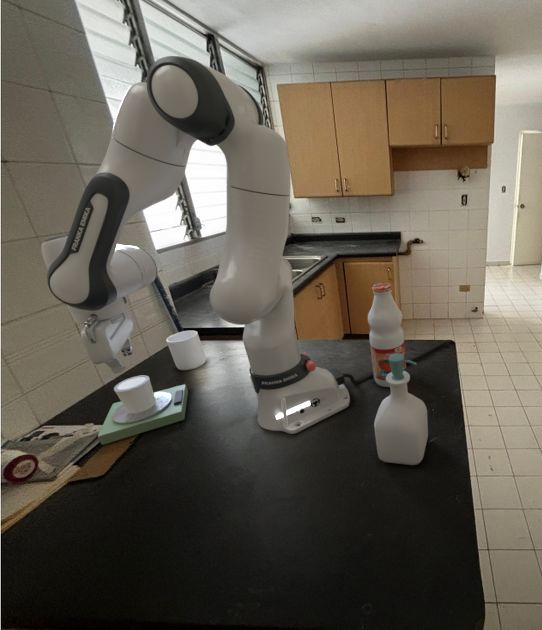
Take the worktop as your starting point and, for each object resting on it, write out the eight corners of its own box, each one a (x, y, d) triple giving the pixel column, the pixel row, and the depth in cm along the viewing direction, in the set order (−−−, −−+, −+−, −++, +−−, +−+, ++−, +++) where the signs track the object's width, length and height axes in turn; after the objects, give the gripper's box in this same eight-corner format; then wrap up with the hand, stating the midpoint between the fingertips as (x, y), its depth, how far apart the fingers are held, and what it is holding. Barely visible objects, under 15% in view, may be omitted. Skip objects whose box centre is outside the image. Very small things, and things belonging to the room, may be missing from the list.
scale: (188, 391, 94) (184, 381, 93) (184, 419, 83) (180, 409, 82) (116, 411, 87) (111, 401, 86) (101, 445, 76) (96, 434, 75)
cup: (186, 373, 103) (176, 344, 99) (164, 365, 109) (153, 337, 105) (212, 360, 110) (203, 332, 106) (190, 353, 115) (180, 327, 111)
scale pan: (174, 388, 92) (173, 386, 91) (169, 412, 82) (168, 410, 82) (119, 403, 86) (118, 401, 86) (106, 431, 77) (105, 429, 76)
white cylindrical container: (140, 416, 80) (129, 392, 77) (117, 413, 81) (105, 389, 79) (165, 398, 86) (156, 375, 83) (144, 396, 88) (133, 373, 85)
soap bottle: (422, 470, 66) (416, 372, 57) (375, 465, 67) (362, 368, 58) (429, 435, 74) (426, 345, 65) (388, 431, 76) (378, 343, 67)
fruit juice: (394, 366, 102) (387, 277, 91) (413, 379, 95) (407, 285, 84) (368, 377, 97) (356, 285, 86) (385, 392, 90) (375, 294, 79)
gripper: (103, 320, 66) (132, 378, 72) (126, 293, 83) (148, 342, 88) (61, 328, 64) (94, 388, 69) (93, 299, 80) (118, 349, 86)
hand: (124, 362), depth 79 cm, fingers open, 8 cm apart
